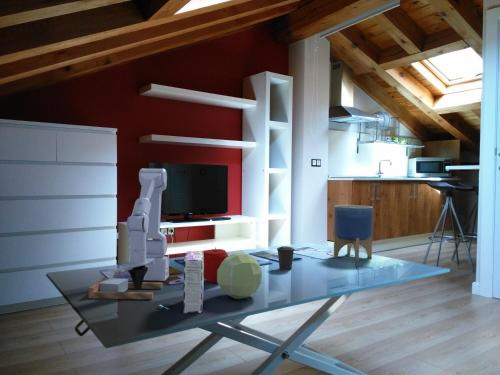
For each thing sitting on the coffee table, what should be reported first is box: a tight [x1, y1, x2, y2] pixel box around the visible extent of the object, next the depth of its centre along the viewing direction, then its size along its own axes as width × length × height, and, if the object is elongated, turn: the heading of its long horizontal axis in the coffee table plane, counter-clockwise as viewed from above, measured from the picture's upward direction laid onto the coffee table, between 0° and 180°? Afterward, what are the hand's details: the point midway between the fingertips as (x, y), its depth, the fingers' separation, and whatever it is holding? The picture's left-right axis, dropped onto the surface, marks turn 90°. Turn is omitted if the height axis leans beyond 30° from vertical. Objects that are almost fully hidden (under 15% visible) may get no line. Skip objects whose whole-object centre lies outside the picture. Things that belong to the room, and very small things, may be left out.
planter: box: [333, 204, 374, 263], centre depth 205 cm, size 19×19×26 cm
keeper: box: [100, 277, 129, 292], centre depth 142 cm, size 7×7×4 cm
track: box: [88, 277, 163, 300], centre depth 140 cm, size 22×13×4 cm, turn 88°
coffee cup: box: [276, 245, 295, 271], centre depth 178 cm, size 8×8×10 cm
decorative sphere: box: [217, 252, 263, 300], centre depth 137 cm, size 15×15×15 cm
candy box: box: [183, 250, 205, 314], centre depth 127 cm, size 14×6×16 cm, turn 5°
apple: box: [203, 246, 229, 284], centre depth 156 cm, size 11×10×14 cm
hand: (137, 287), depth 140 cm, fingers closed
